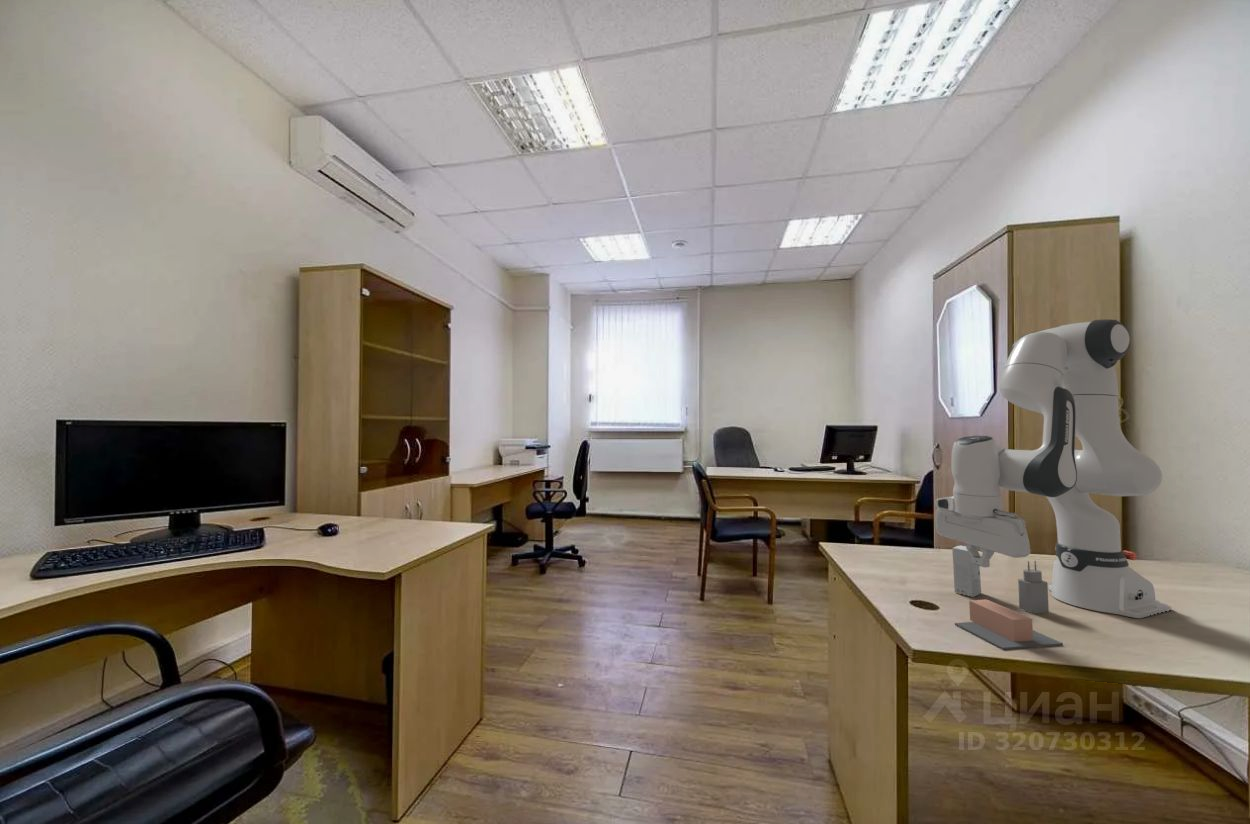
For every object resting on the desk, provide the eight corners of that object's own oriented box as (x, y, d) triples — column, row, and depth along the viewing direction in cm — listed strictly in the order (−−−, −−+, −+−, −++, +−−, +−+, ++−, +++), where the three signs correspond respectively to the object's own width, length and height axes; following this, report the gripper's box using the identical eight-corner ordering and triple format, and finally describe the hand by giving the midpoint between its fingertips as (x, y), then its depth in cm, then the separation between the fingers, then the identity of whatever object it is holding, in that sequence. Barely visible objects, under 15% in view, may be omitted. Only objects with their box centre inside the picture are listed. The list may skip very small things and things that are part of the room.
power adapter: (1017, 608, 106) (1015, 559, 107) (1037, 607, 107) (1035, 558, 107) (1030, 613, 103) (1028, 563, 103) (1050, 612, 104) (1048, 562, 104)
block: (986, 599, 99) (1032, 618, 90) (987, 619, 99) (1033, 640, 89) (969, 600, 99) (1013, 619, 89) (970, 620, 99) (1014, 641, 89)
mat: (1009, 621, 99) (1009, 619, 99) (1062, 645, 88) (1062, 643, 88) (954, 624, 97) (954, 623, 97) (1002, 649, 86) (1002, 647, 86)
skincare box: (973, 598, 112) (971, 551, 113) (953, 592, 116) (951, 547, 117) (982, 592, 116) (980, 547, 116) (962, 587, 120) (960, 544, 120)
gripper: (1036, 514, 90) (1041, 580, 89) (951, 497, 110) (954, 551, 109) (1010, 515, 89) (1014, 582, 88) (929, 499, 109) (932, 553, 109)
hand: (980, 565), depth 99 cm, fingers closed
